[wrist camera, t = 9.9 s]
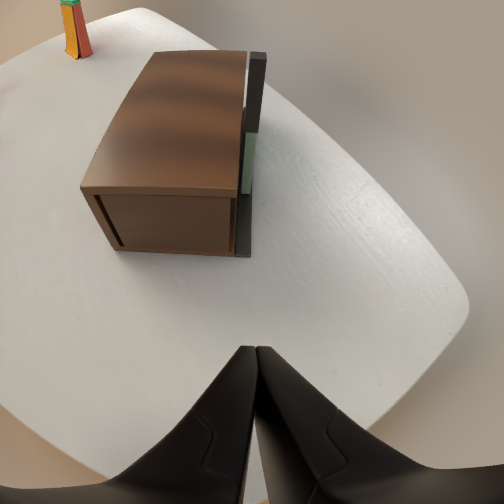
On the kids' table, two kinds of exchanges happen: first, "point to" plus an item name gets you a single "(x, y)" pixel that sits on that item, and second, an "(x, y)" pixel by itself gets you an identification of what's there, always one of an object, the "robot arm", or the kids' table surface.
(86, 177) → the cabinet
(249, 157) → the sliding door
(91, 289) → the kids' table surface
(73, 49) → the building blocks
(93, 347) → the kids' table surface
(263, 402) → the robot arm
